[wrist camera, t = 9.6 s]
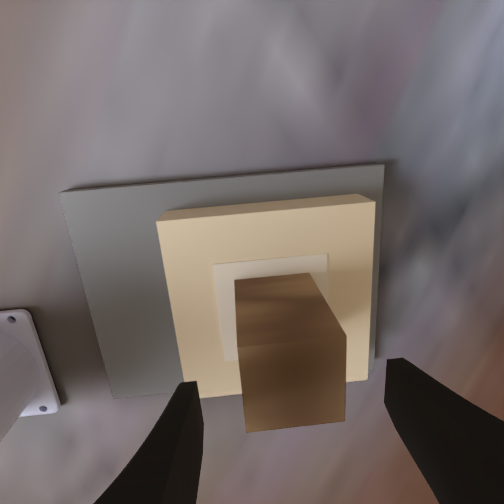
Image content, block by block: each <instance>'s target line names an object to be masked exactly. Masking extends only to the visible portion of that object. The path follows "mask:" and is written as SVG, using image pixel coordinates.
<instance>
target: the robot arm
mask: <svg viewBox="0 0 504 504" xmlns="http://www.w3.org/2000/svg"><path fill="white" fill-rule="evenodd" d="M11 316H13V317H15V319H16V320H13V319H12V318H11ZM384 403H385V406H386V408H387V410H388V413H389V415H390V417H391V420H392V422H393V424H394V426H395V428H396V430H397V432H398V434H399V435H400V437H401V439H402V441H403V442H404V444H405V446H406V447H407V449H408V451H409V452H410V454H411V456H412V457H413V459H414V461H415V462H416V464H417V466H418V467H419V469H420V471H421V472H422V474H423V476H424V478H425V479H426V481H427V483H428V484H429V486H430V488H431V489H432V491H433V493H434V495H435V496H436V498H437V500H438V502H439V504H504V421H502V420H500V419H498V418H497V417H495V416H493V415H491V414H489V413H488V412H486V411H484V410H483V409H481V408H479V407H477V406H476V405H474V404H472V403H471V402H469V401H467V400H466V399H464V398H463V397H461V396H459V395H458V394H456V393H455V392H453V391H452V390H450V389H449V388H447V387H446V386H444V385H443V384H441V383H440V382H438V381H437V380H435V379H434V378H432V377H431V376H429V375H428V374H426V373H425V372H423V371H422V370H420V369H419V368H418V367H416V366H415V365H413V364H412V363H410V362H409V361H407V360H405V359H404V358H396V359H387V366H386V381H385V396H384ZM44 406H46V407H44ZM60 406H61V404H60V400H59V397H58V394H57V391H56V388H55V385H54V382H53V379H52V376H51V374H50V371H49V368H48V365H47V362H46V359H45V356H44V353H43V350H42V347H41V344H40V341H39V338H38V335H37V332H36V329H35V326H34V323H33V320H32V317H31V314H30V313H29V312H28V311H27V310H24V309H17V310H7V311H0V442H1V440H2V439H3V438H4V436H5V435H6V433H7V432H8V431H9V429H10V428H11V427H12V425H13V424H14V423H15V421H16V420H17V419H18V417H22V416H31V415H40V414H49V413H55V412H57V411H58V409H59V408H60ZM203 431H204V422H203V416H202V410H201V404H200V398H199V391H198V385H197V381H189V382H180V383H179V385H178V386H177V388H176V390H175V392H174V394H173V396H172V397H171V399H170V401H169V403H168V405H167V406H166V408H165V410H164V411H163V413H162V415H161V416H160V418H159V420H158V421H157V423H156V424H155V426H154V428H153V429H152V431H151V432H150V434H149V435H148V437H147V438H146V440H145V441H144V442H143V444H142V445H141V447H140V448H139V450H138V451H137V452H136V454H135V455H134V456H133V458H132V459H131V460H130V462H129V463H128V464H127V466H126V467H125V468H124V469H123V471H122V472H121V473H120V474H119V475H118V477H117V478H116V479H115V480H114V481H113V483H112V484H111V485H110V486H109V487H108V488H107V489H106V490H105V492H104V493H103V494H102V495H101V496H100V497H99V498H98V499H97V500H96V502H95V503H94V504H196V499H197V492H198V485H199V477H200V470H201V462H202V455H203Z"/></svg>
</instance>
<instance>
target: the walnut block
mask: <svg viewBox="0 0 504 504" xmlns="http://www.w3.org/2000/svg"><path fill="white" fill-rule="evenodd" d="M234 289H235V311H236V334H237V351H238V361H239V370H240V379H241V388H242V397H243V407H244V416H245V425H246V433H248V432H257V431H266V430H274V429H283V428H291V427H300V426H308V425H317V424H326V423H334V422H343V421H345V407H346V352H347V335H346V334H345V332H344V330H343V329H342V327H341V325H340V324H339V322H338V320H337V319H336V317H335V315H334V314H333V312H332V310H331V308H330V307H329V305H328V303H327V302H326V300H325V298H324V297H323V295H322V293H321V292H320V290H319V288H318V287H317V285H316V283H315V282H314V280H313V278H312V276H311V275H310V273H300V274H290V275H280V276H270V277H259V278H249V279H239V280H234Z"/></svg>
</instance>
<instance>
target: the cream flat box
mask: <svg viewBox="0 0 504 504" xmlns="http://www.w3.org/2000/svg"><path fill="white" fill-rule="evenodd" d="M383 184H384V164H379V163H373V164H362V165H350V166H339V167H327V168H316V169H304V170H292V171H281V172H269V173H258V174H246V175H234V176H223V177H211V178H200V179H188V180H177V181H165V182H153V183H142V184H130V185H119V186H107V187H95V188H84V189H72V190H65V191H62V192H59V193H58V194H59V198H60V202H61V205H62V209H63V213H64V217H65V220H66V224H67V228H68V232H69V235H70V239H71V243H72V246H73V250H74V254H75V258H76V261H77V265H78V269H79V273H80V276H81V280H82V284H83V288H84V291H85V295H86V299H87V303H88V306H89V310H90V314H91V317H92V321H93V325H94V329H95V332H96V336H97V340H98V344H99V347H100V351H101V355H102V359H103V362H104V366H105V370H106V374H107V377H108V381H109V385H110V389H111V392H112V396H113V399H119V398H128V397H137V396H146V395H155V394H164V393H173V392H175V390H176V388H177V386H178V385H179V383H180V382H189V381H197V385H198V391H199V398H207V397H216V396H225V395H234V394H242V388H241V379H240V370H239V361H238V351H237V334H236V311H235V289H234V280H239V279H249V278H259V277H270V276H280V275H290V274H300V273H310V275H311V276H312V278H313V280H314V282H315V283H316V285H317V287H318V288H319V290H320V292H321V293H322V295H323V297H324V298H325V300H326V302H327V303H328V305H329V307H330V308H331V310H332V312H333V314H334V315H335V317H336V319H337V320H338V322H339V324H340V325H341V327H342V329H343V330H344V332H345V334H346V335H347V352H346V382H351V381H360V380H368V371H372V370H374V357H375V338H376V319H377V300H378V280H379V261H380V242H381V223H382V203H383Z"/></svg>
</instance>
